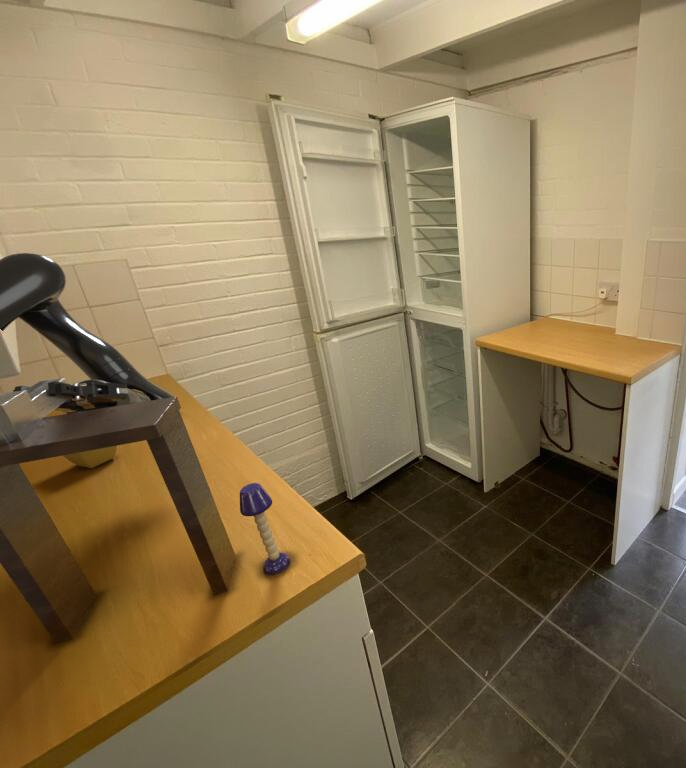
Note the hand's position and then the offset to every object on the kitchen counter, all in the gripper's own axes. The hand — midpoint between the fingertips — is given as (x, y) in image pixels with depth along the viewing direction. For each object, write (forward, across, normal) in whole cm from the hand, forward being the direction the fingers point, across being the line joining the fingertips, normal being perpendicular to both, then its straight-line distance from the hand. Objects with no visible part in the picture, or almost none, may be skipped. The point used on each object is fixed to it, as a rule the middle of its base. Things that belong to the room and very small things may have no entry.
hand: (35, 390), depth 60 cm
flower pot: (-59, -22, +7) cm, 63 cm away
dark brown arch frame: (-10, +6, +34) cm, 36 cm away
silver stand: (+2, 0, +4) cm, 5 cm away
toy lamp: (-9, +24, +35) cm, 44 cm away
